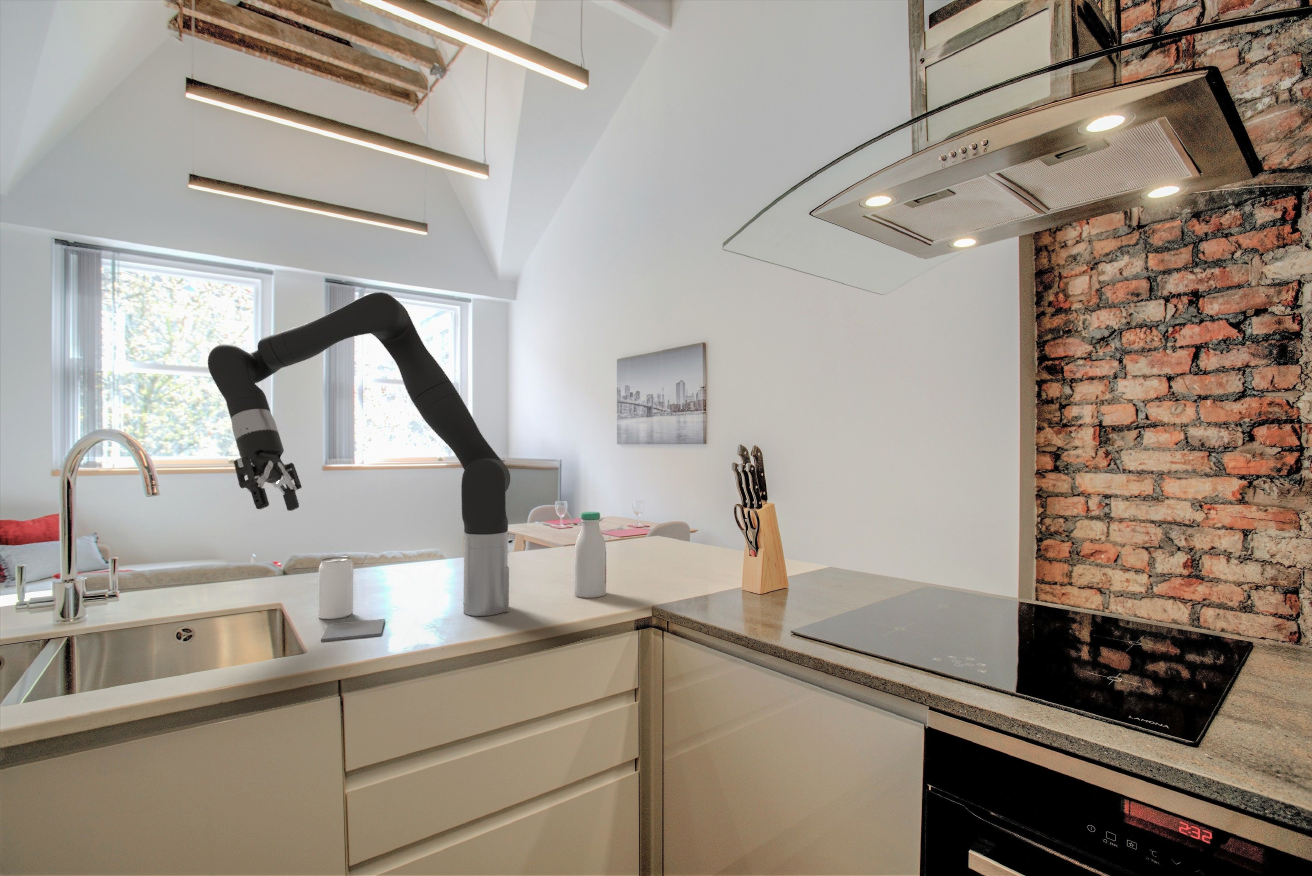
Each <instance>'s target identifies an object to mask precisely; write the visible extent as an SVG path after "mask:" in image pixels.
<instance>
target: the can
mask: <svg viewBox="0 0 1312 876" xmlns="http://www.w3.org/2000/svg"><path fill="white" fill-rule="evenodd" d="M317 594H318V595H317V596H318V597H317V601H318V605H317V609H318V611H317V612H318V613H317V614H318V616H317V617H318V618H320V619H321V620H324V619H333V620H339V619H338V618H340V619H345V618H347V616H348V617H350V616H351V615H352V614H353V611H354V563H353V562H352V557H351V556H330V557H325V558H322V559H321V563H320V565H319V566H318V593H317ZM350 614H351V615H350ZM349 615H350V616H349ZM344 617H345V618H344Z"/></svg>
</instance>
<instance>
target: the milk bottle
mask: <svg viewBox="0 0 1312 876" xmlns="http://www.w3.org/2000/svg"><path fill="white" fill-rule="evenodd" d="M580 518H581V527H580V531H579V534H578V536H577V538H576V541H575V546H574V560H573V561H574V562H573V563H574V565H573V567H574V568H573V569H574V570H573V571H574V572H573V575H574V576H573V579H574V580H573V586H574V587H573V593H574V595H575V596H576V597H578V598H586V599H592V598H593V599H594V598H601V597H603V596H605V595H606V594H607V546H606V541H605V538H604V535H603V533H602V531H601V527H600V520H601V513H600V512H598V511H583V512H581V513H580Z"/></svg>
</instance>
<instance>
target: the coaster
mask: <svg viewBox="0 0 1312 876" xmlns="http://www.w3.org/2000/svg"><path fill="white" fill-rule="evenodd" d="M385 622H386V618H378V619H377V618H376V619H368V620H357V621H355V620H354V621H345V622H335V623H329V624H328V626H327V627H326V630H325V631H324V633H323V635H322V636H321V638H320V642H321V643H322V641H324V642H332V641H333V640H334V641H341V640H343V639H344V640H352V639H362V638H374V637H381V636H382V632H383V630H384V626H385ZM334 641H333V642H334Z"/></svg>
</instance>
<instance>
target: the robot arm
mask: <svg viewBox="0 0 1312 876" xmlns="http://www.w3.org/2000/svg"><path fill="white" fill-rule="evenodd" d="M409 314H410V313H409V312H408V311H407V309H406V307H405V306H404V305H403V304H402V303H400V301H398V299H396V298H395V297H394V296H392V295H391V294H389V293H386V292H384V291H372V292H369V293H367V294H365V295H362V296H361V297H358V298H356V299H355V300H353V301H351V302H349V303H347V304H346V305H343V306H342V307H339V308H338V309H336V310H333V311H332V312H329V313H328V314H325V315H323V316H321V317H318V318H316V319H314V320H311V321H308V322H306V323H302V324H300V325H298V326H294V327H291V328H288V329H285V330H283V331H279V332H276V333H273V334H271V335H268V336H265V337H263V338H261V339H260V340H259V341H258V343H257V350H254V351H252V352H248V351H247V350H244V349H243V348H241V347H238V346H236V345H234V344H230V343H223V344H219V345H216V346H215V347H213V349H211V351H210V352H209V353H208V357H207V367H208V371H209V373H210V375H211V378H212V380H213V382H214V383H215V385H216V387H217V389H218V391H219V392H220V394H221V396H223V399H224V400H225V402H226V407H227V411H228V414H229V417H230V421H231V427H232V432H233V433H232V434H233V437H234V440H235V444H236V446H237V450H238V454H239V456H240V458H239V457H238V458H237V459H235V460H234V461H233V465H234V468H235V469H234V470H235V472H236V477H237V481H238V486H239V488H240V489H247V491H248V492H250V493H251V497H252V501H253V504H254V506H255V509H257V510H263V509H265V508H268V507H269V506H270V502H269V499H268V496H267V492H266V488H265V487H264V486H265V485H264V484H265V483H268V484H271V485H272V486H273V487H274V488H276V489H278V490H279V491H280V492H281V493H282V494H283V495H282V497H283V500H284V503H285V506H286V510H287V511H288V512H289V511H291V512H292V511H294V510H297V509H299V508H300V503H299V499H298V498H297V497H298V496H297V494H296V491H297V490H300V489H302V487H303V486H302V483H301V481H300V478H299V475H298V472H297V470H296V466H295V464H294V463H293V462H290V463H289V462H288V463H287V464H285V463H284V462H283V461H282V459H281V457H282V455H283V453H284V452H285V451H284V450H285V449H284V445H283V444H282V440H281V436H280V433H279V429H278V426H277V424H276V421H275V418H274V417H273V414H272V412H271V409H270V405H269V402H268V399H267V396H266V394H265V392H264V391H263V389H261V388H260V387H259V386H258V385H257V383H260V382H262V381H264V380H266V379H267V378H268V377H270V376H272V375H273V374H275V373H277V372H278V371H279V370H281V369H283V368H287V367H290V366H293V365H295V364H299V363H301V362H303V361H306V360H310V359H311V358H313V357H316V356H318V355H320V354H321V353H322V352H324V351H325V350H327V349H329V348H330V347H333V345H335V344H337V343H339V342H341V341H344V340H346V339H349V338H353V337H358V336H362V335H369V334H371V335H373V336H374V337H375V338H376V339H377V340H378V341H379V342H380V343H381V344H382V346H383V347H384V348H385V350H386V351H387V352H388V353H389V354H390V355H389V356H390V357H391V358H392V359H393V361H394V362H395V364H396V366H397V368H398V370H399V373H400V376H401V378H402V382H403V385H404V387H405V389H406V392H407V394H408V396H409V397H410V398H409V399H410V400H411V401H412V403H413V405H414V406H415V408H416V409H417V411H418V413H419V414H420V417H422V419H423V420H424V421H425V423H426V424H427V425H428V426H429V427H430V429H432V430H433V432H434V433H435V435H437V436H438V437H439V438H440V439H441V440H442V441H443V442H444V443H445V444H446V445H447V446H448V447H449V449H451V451H452V452H453V453H454V455H455V456H456V458H457V460H458V461H459V463H460V465H461V466H462V468H463V473H462V477H461V489H460V491H461V495H460V496H461V518H462V522H463V527H464V528H463V604H462V605H463V613H464V614H465V615H468V616H473V617H474V616H476V617H478V616H480V617H485V616H493V615H499V614H501V613H506V612H507V613H508V612H509V611H510V605H509V604H510V567H509V566H508V564H509V561H508V560H509V559H508V558H509V557H508V556H509V551H508V550H509V547H508V545H509V543H508V541H509V538H508V537H509V519H508V515H507V511H506V510H507V509H506V508H507V507H506V492H507V491H508V489H509V487H510V484H511V474H510V470H509V468H508V466H507V465H506V464H505V463H504V461H503V460H502V459H501V458H500V457H499V456H498V454H497V453H496V452H495V450H494V449H493V448H492V447H491V445H490V444H489V442H488V441H487V440H486V439H485V437H484V436H483V434H482V432H481V430H480V429H479V427H478V425H477V423H476V422H475V419H474V418H473V416H472V415H471V413H470V411H469V409H468V408H467V405H466V404H465V402H464V401H463V398H462V397H461V395H460V393H459V392H458V390H457V389H456V387H455V386H454V384H453V382H452V381H451V380H450V378H449V377H448V375H447V373H446V372H445V371H444V369H443V368H442V367H441V365H440V364H439V363H438V362H437V360H436V359H435V358H434V356H433V355H432V353H430V351H429V350H428V349H427V347H426V345H425V344H424V342H423V340H422V338H421V337H420V334H419V333H418V331H417V329H416V327H415V325H414V323H413V320H412V318H411V316H410V315H409ZM245 476H247V479H246V477H245ZM293 482H294V483H293ZM284 485H285V486H284Z"/></svg>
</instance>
